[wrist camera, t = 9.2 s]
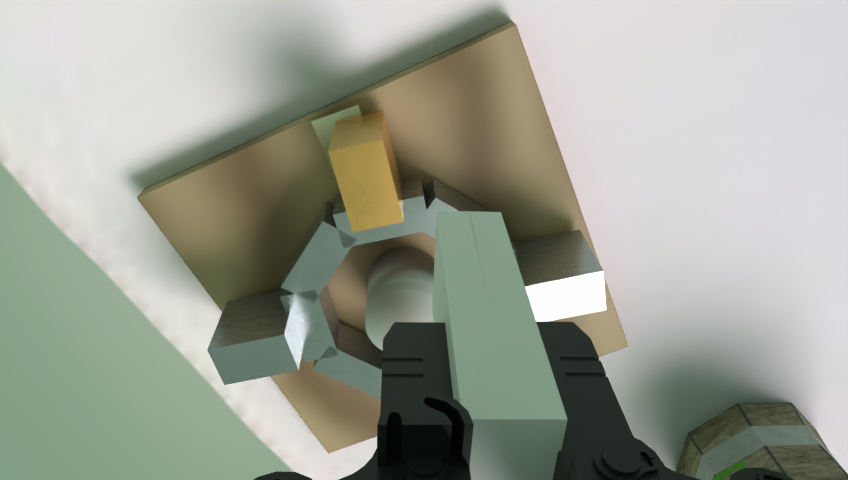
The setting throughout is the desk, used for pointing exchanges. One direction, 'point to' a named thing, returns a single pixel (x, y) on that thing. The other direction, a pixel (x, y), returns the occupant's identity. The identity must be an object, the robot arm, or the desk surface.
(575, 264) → the ring nut
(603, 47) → the desk surface
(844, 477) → the mug
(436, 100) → the board
